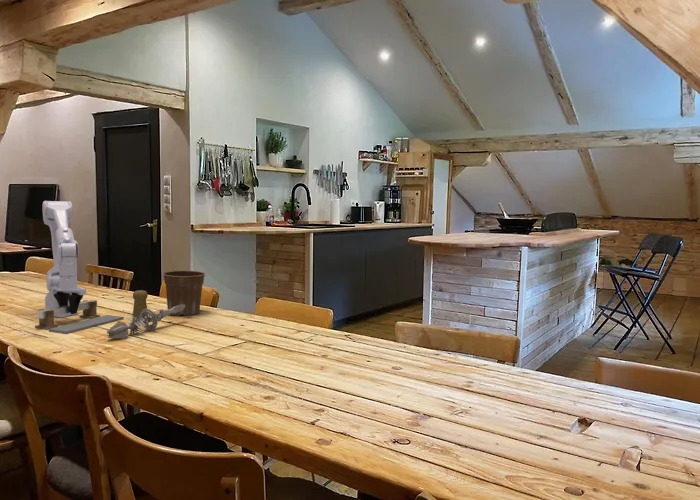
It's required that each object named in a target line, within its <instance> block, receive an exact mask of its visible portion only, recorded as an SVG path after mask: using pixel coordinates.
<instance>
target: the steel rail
mask: <svg viewBox="0 0 700 500" xmlns="http://www.w3.org/2000/svg"><path fill="white" fill-rule="evenodd" d="M83 301H84V300H83ZM83 301H80V303H79V306H78V310H77V312H79V311H83V310H84V309H89V308H91V302H93V301H96V307H98V300H96V299H90V300H88V301H84V302H83ZM44 309H45V308H44ZM39 310H40V309H39ZM39 310H37V311H36V312H37V319H39V318H42V319H43V318H48V311H50V310H54V317H55V316H57V315H61V314H66V313H70V304H69V305H64V306H60V307H55V308H50V309H45V310H40V311H39Z"/></svg>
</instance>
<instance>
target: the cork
mask: <svg viewBox="0 0 700 500" xmlns="http://www.w3.org/2000/svg"><path fill="white" fill-rule="evenodd" d="M132 299H133V300H134V301H133V308H132V309H133V310H132V315H131V316H133V317H136V316H138V317H139V315H140V314H141V312H142V310H143V309H146V308H148V304H147V299H148V292H147V291H146V290H143V289H141V290H135V291H133V293H132ZM147 314H148V313H147ZM147 314H146V315H147ZM147 316H149V314H148V315H147ZM147 316H146V317H147ZM133 317H131V318H133Z"/></svg>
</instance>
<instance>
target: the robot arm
mask: <svg viewBox="0 0 700 500" xmlns="http://www.w3.org/2000/svg"><path fill="white" fill-rule="evenodd" d="M73 210H74V209H73V203H72V201H70V200H68V201H67V200H66V201H64V200H63V201H60V200H58V201H55V200H53V201H52V200H44V201H43V202H42V220H43V224H44V225H47V226H48V227H49V230H50V235H51V247H52V248H51V249H52V256H53V267H52V268H51V269H49V270H48V271H47V273H46V290H47V291H48V292H47V293H46V295H45V297H44V309H50V308H55V307H60V306H64V305H69V304H70V313H66V314H61V315H57V316H54V318H56V317H57V318H64V317H71V316H74V315H75V316H76V315H78V314H79V311H77V310H78V306H79V303H80V302H82V301H81V300H82V299H83V297H84V296H85V295H87V289H86V288H82V287H78V264H77V263H78V260H77V258H78V257H79V254H80V252H79V244H78V241H76V240H75V236H74V232H73V229H72V228H70V227H69V225H70V224H71V220H72V215H73Z"/></svg>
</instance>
